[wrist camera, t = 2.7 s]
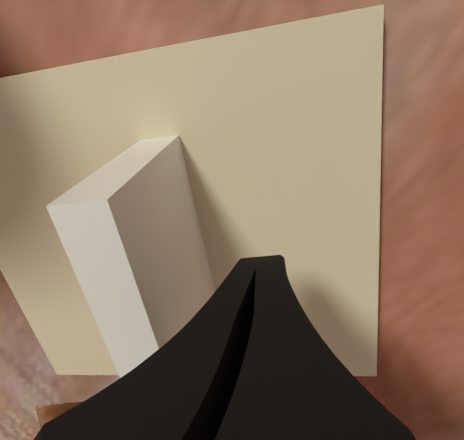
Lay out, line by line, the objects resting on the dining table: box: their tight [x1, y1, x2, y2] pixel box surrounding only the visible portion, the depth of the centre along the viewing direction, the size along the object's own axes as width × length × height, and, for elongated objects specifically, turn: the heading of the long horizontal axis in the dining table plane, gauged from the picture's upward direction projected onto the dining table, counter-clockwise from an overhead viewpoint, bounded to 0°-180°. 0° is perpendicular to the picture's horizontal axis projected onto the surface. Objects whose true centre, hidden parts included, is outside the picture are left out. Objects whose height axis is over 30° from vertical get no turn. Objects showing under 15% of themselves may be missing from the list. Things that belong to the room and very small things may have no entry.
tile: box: [46, 135, 215, 378], centre depth 13 cm, size 2×8×6 cm, turn 9°
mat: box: [0, 4, 384, 376], centre depth 16 cm, size 18×16×1 cm
